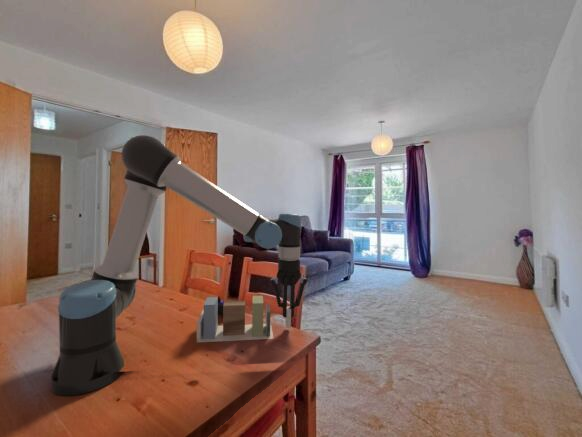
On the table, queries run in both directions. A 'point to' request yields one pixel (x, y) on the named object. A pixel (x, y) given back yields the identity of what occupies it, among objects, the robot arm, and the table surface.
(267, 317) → the bookend
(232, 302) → the book
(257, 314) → the book
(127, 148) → the robot arm
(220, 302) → the character figurine
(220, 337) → the white book rack
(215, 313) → the book
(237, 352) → the table surface
